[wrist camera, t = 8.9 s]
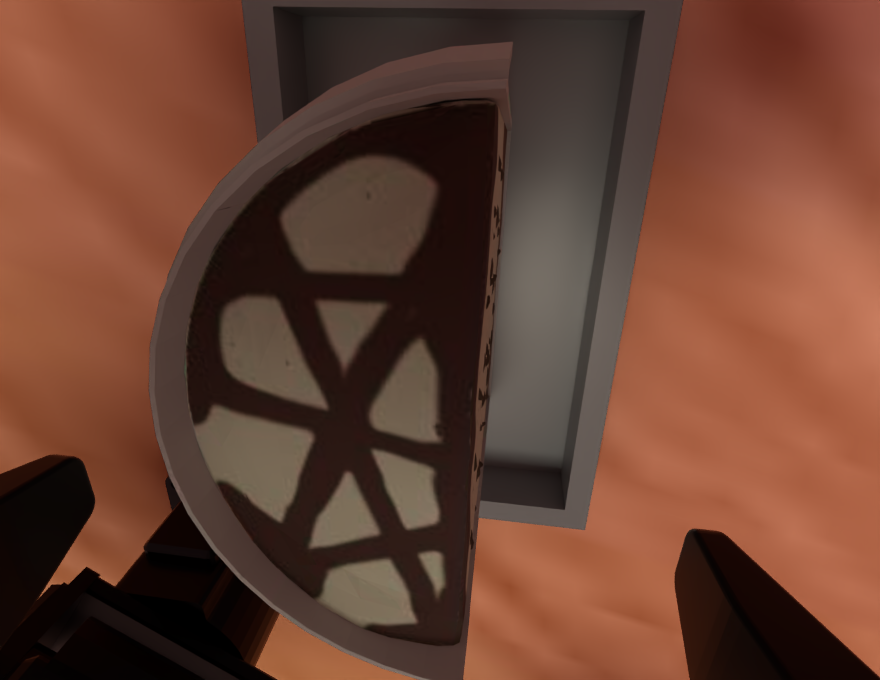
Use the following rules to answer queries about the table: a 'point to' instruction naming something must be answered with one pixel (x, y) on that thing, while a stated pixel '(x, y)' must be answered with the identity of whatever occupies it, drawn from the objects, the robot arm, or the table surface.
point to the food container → (347, 356)
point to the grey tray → (521, 198)
